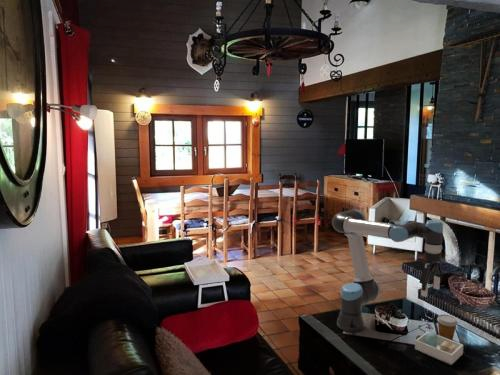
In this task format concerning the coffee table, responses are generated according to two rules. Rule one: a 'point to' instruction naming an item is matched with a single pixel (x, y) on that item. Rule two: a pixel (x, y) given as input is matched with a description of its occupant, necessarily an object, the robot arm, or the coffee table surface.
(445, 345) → the beech cube
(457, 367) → the coffee table surface
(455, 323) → the disposable coffee cup
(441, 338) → the tote
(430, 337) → the teal capsule
